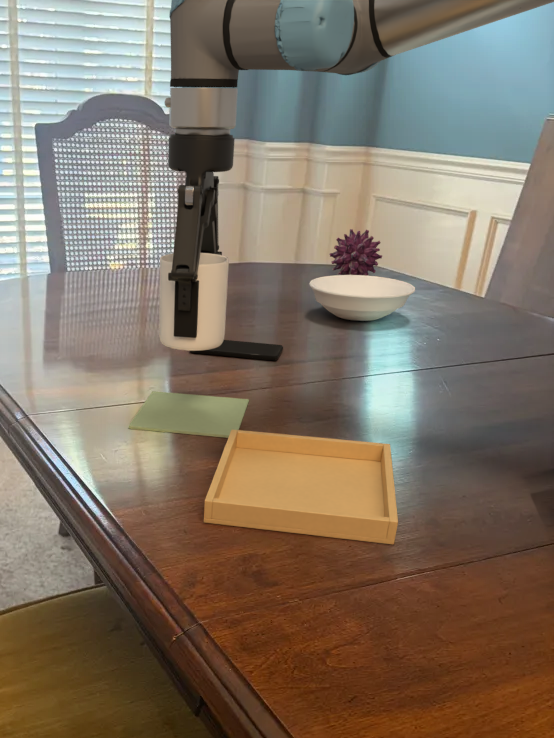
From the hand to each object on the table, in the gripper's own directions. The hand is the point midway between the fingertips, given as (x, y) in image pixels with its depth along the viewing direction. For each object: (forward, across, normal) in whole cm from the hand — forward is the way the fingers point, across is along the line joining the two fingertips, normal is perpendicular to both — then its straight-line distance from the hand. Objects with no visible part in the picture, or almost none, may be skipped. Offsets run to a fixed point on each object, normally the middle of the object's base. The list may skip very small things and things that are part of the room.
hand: (194, 323), depth 98 cm
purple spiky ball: (+12, -97, +21) cm, 100 cm away
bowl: (+12, -60, +22) cm, 65 cm away
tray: (+12, +20, +16) cm, 28 cm away
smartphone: (+12, -31, +2) cm, 33 cm away
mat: (+12, 0, 0) cm, 12 cm away
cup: (+2, 0, 0) cm, 2 cm away
